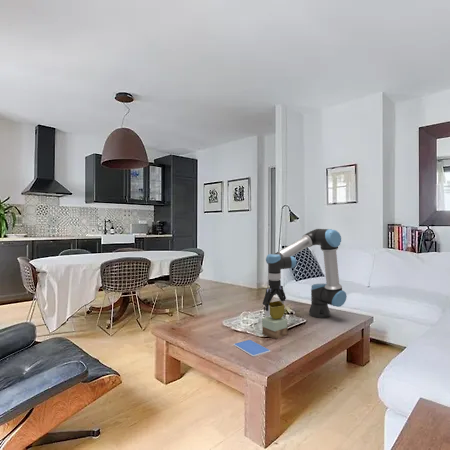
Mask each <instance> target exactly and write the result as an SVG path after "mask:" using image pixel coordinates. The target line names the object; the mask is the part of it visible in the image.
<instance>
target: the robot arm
mask: <svg viewBox="0 0 450 450" xmlns="http://www.w3.org/2000/svg"><path fill="white" fill-rule="evenodd" d="M341 242H342V236H341V234H340V232H338V230H336V229H332V228H331V229H330V228H316V229H313V230H310V231H309V232H307V233H305V234H303V235H302V236H301V237H300V238H299V239H297V240H296V241H294V242H292V243H291V244H288V245H286V247H284V248H282V249H280V250H278V251H277V252H275V253H268V254H267V255H266V257H265V262H266V264H268V279H267V280H268V286H269V288H266V289H265V294H264V297H263V301H262V305H264V306H265V307H264V310H265V316H266V317H270V305H269V304H270V302H272V299H273V297H274V296H276V295H277V297H278V298H279V300H278V301H280V302H281V303H282V304H284V305H285V302H286V299H287V297H286V293H285V290H284V288H283V287H284V285H281V284H282V282H281V279H282V277H281V276H282V275H281V273H282V271H281V270H286V269H293V268H295V267H296V266H297V258H296V257H295V255H296V254H298V253H300V252H301V251H303V250H304V249H306V248H311V247H313V246H319V247H320V250H321V251H322V252H323V253H322V254H323V260H324V269H325V270H324V272H325V283H313V284H311V289H310V291H311V292H310V293H311V294H310V295H311V296H310V299H311V300H310V301H311V303H310V304H311V305H310V307H309V309H308V315H309V316H311V317H312V318H318V319H319V318H320V319H326V318H330V317H331V311H330V308H329V305H330V306H333V307H336V308H337V307H342V306H343V305H345V303H346V301H347V293H346V292H345V290H343V286H342V285H341V284H340V277H339V276H340V275H339V267H338V266H339V265H338V255H337V250H338V249H339V247H340V246H341Z"/></svg>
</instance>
